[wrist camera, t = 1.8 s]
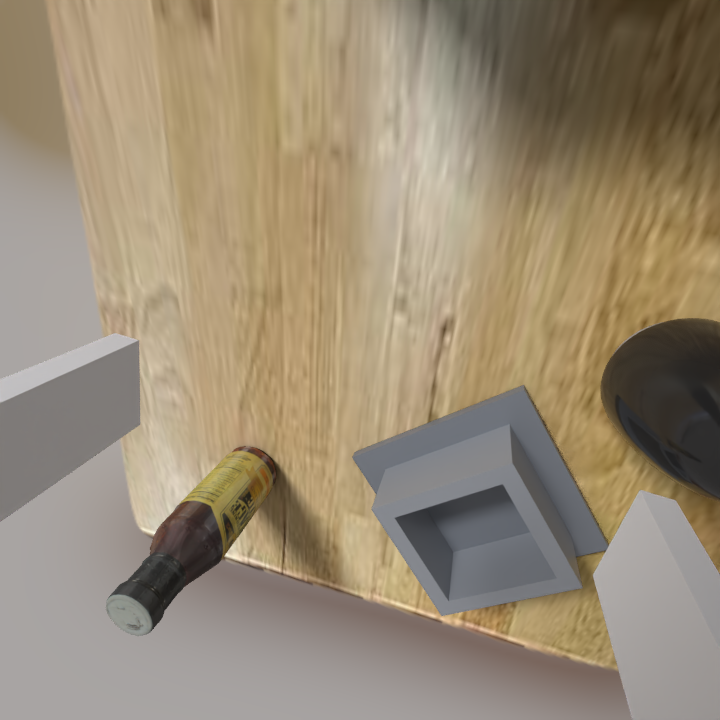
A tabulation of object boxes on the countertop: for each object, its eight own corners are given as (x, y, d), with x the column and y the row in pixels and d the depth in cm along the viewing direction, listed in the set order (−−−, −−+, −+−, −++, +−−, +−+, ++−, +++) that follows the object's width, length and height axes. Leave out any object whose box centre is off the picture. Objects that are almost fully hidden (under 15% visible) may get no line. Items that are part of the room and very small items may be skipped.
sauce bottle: (273, 497, 52) (160, 665, 34) (225, 475, 53) (90, 629, 35) (285, 454, 49) (170, 613, 31) (234, 431, 50) (93, 575, 32)
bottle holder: (354, 451, 47) (333, 495, 40) (523, 384, 39) (529, 425, 33) (438, 580, 50) (431, 639, 44) (607, 541, 43) (627, 604, 37)
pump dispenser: (605, 435, 39) (665, 575, 26) (578, 325, 36) (631, 416, 23) (747, 411, 35) (907, 559, 22) (730, 286, 33) (901, 368, 19)
